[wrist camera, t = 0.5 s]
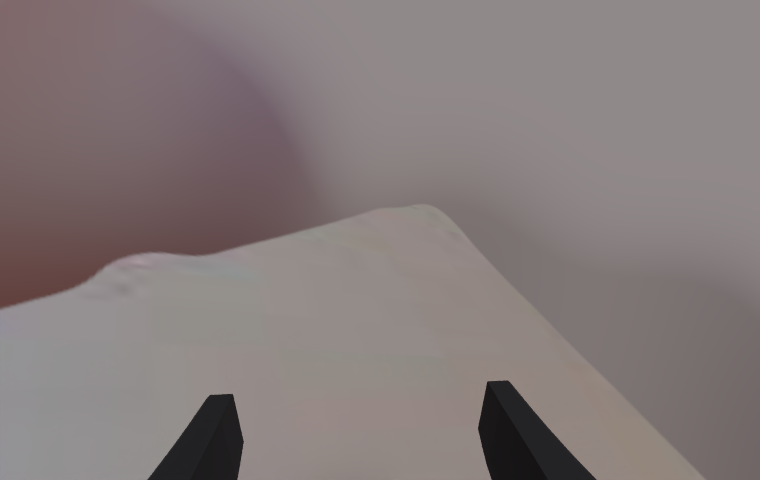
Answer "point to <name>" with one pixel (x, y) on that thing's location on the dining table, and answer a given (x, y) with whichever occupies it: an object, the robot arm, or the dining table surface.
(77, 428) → the dining table surface
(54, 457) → the dining table surface
